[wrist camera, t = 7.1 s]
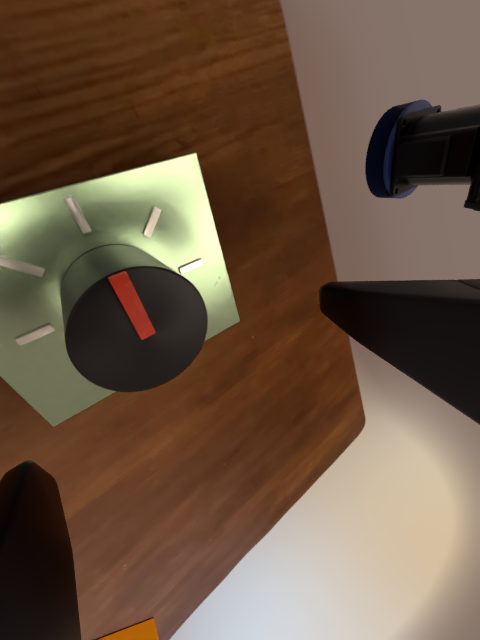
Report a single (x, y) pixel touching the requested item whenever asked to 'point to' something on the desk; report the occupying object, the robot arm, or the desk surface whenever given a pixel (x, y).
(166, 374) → the pointer wheel
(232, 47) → the desk surface
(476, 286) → the robot arm
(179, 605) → the desk surface
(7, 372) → the dial panel
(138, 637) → the orange square platform
